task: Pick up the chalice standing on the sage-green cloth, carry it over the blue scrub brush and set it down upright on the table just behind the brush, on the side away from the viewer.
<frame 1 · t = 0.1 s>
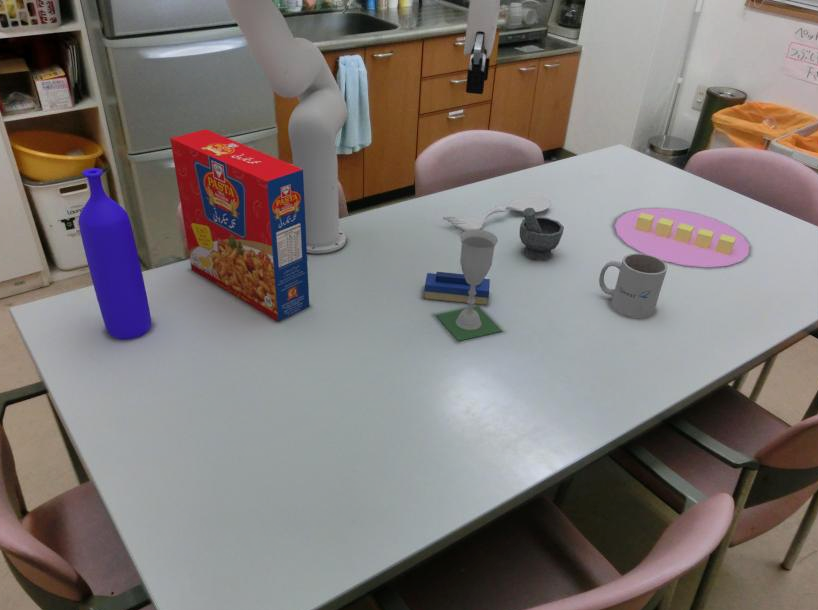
hand: (476, 86, 132), 37 cm above the table, tool pointing down, fingers open, 9 cm apart
chalice: (468, 323, 134), resting on green cloth
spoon: (500, 219, 173), on the table
pasta box: (248, 288, 141), on the table
mortar and pestle: (534, 254, 158), on the table
brush: (456, 296, 142), on the table
mug: (624, 303, 143), on the table
green cloth: (468, 323, 134), on the table
bottle: (129, 329, 127), on the table
platter: (680, 236, 169), on the table
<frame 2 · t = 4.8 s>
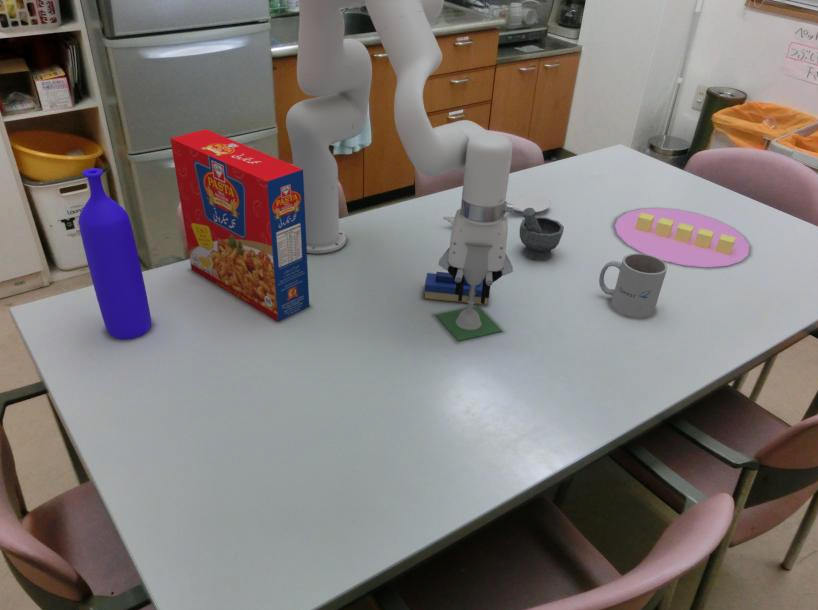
hand: (471, 298, 130), 6 cm above the table, tool pointing down, fingers closed on chalice, 3 cm apart
chalice: (468, 323, 134), resting on green cloth, touching gripper
everything else where it was.
when the fingers open (5 cm above the table, at t = 12.6 s): chalice stays where it is, on the table.
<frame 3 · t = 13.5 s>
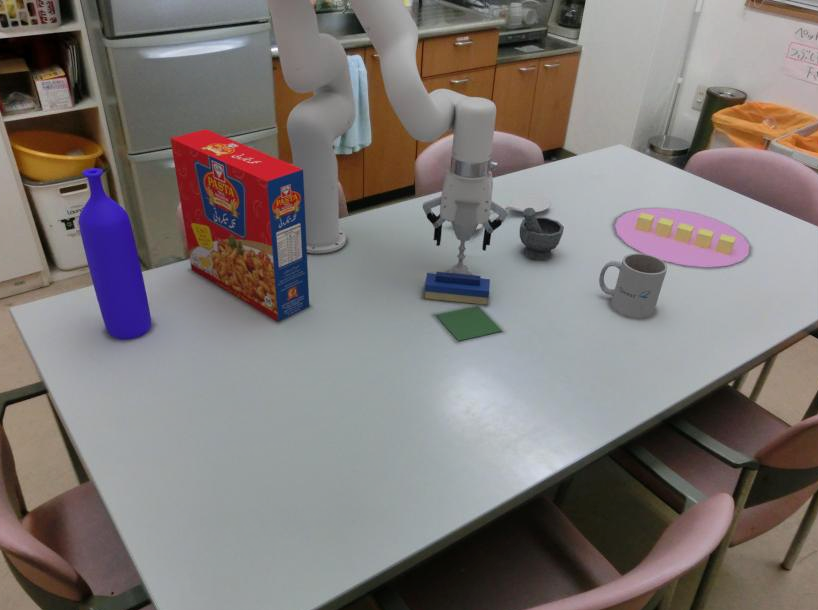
hand: (461, 245, 144), 7 cm above the table, tool pointing down, fingers open, 9 cm apart
chalice: (458, 277, 148), on the table
everything else where it was.
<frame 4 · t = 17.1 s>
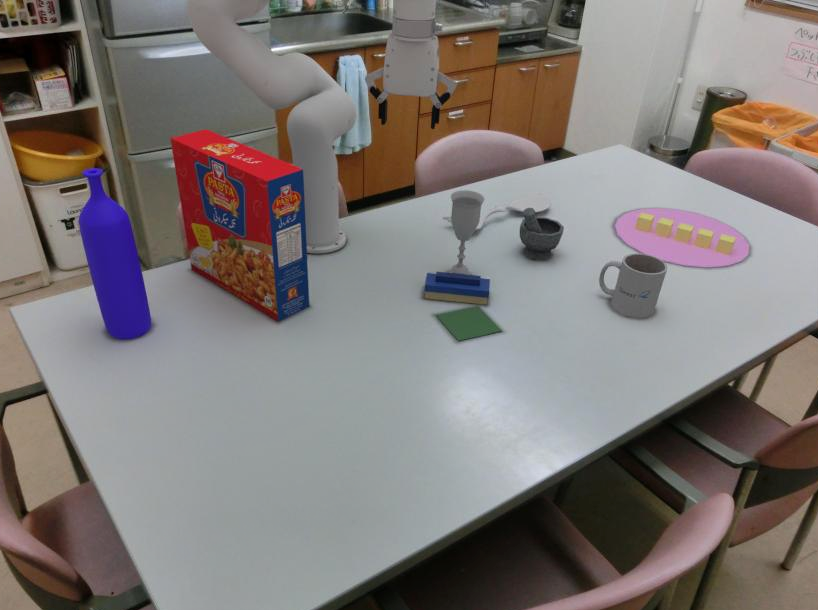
hand: (408, 124, 133), 30 cm above the table, tool pointing down, fingers open, 9 cm apart
nothing on the table moved.
at the end: chalice 0.4 cm from the target spot on the table beside the brush, on the table; chalice tilted 0°; brush moved 0.0 cm from its start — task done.
